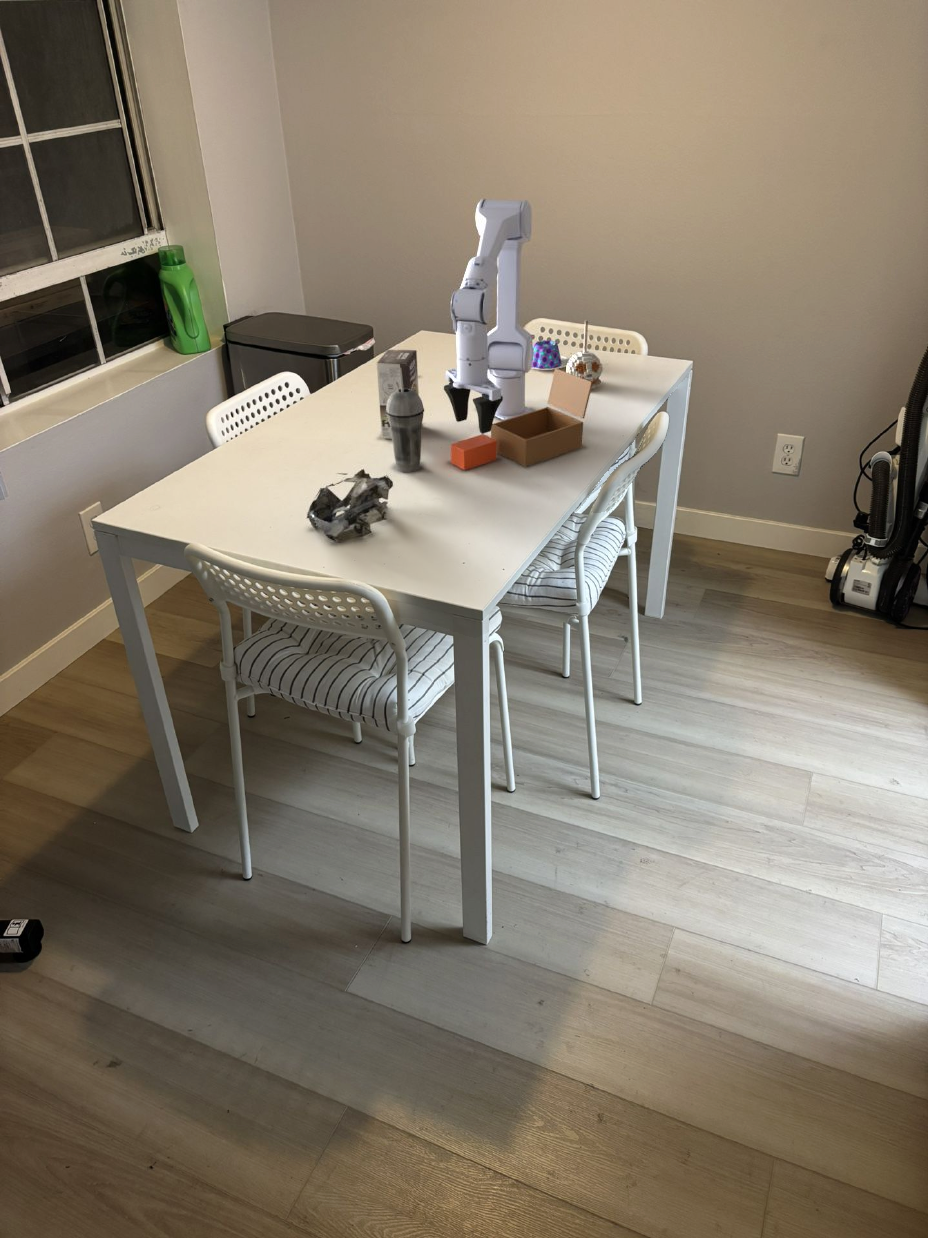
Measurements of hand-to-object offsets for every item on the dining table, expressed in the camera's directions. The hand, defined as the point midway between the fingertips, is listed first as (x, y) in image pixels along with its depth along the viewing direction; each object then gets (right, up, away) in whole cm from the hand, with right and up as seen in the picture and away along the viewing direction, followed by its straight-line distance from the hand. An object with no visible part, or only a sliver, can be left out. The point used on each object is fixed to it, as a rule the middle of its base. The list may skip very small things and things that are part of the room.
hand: (473, 425), depth 183 cm
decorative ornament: (+26, +17, +39) cm, 49 cm away
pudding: (+18, +25, +52) cm, 60 cm away
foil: (-21, -21, -17) cm, 34 cm away
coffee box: (-15, +2, +18) cm, 23 cm away
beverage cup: (-13, -8, +3) cm, 15 cm away
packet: (0, -6, +4) cm, 7 cm away
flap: (+19, +8, +7) cm, 22 cm away
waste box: (+13, -3, +9) cm, 16 cm away
